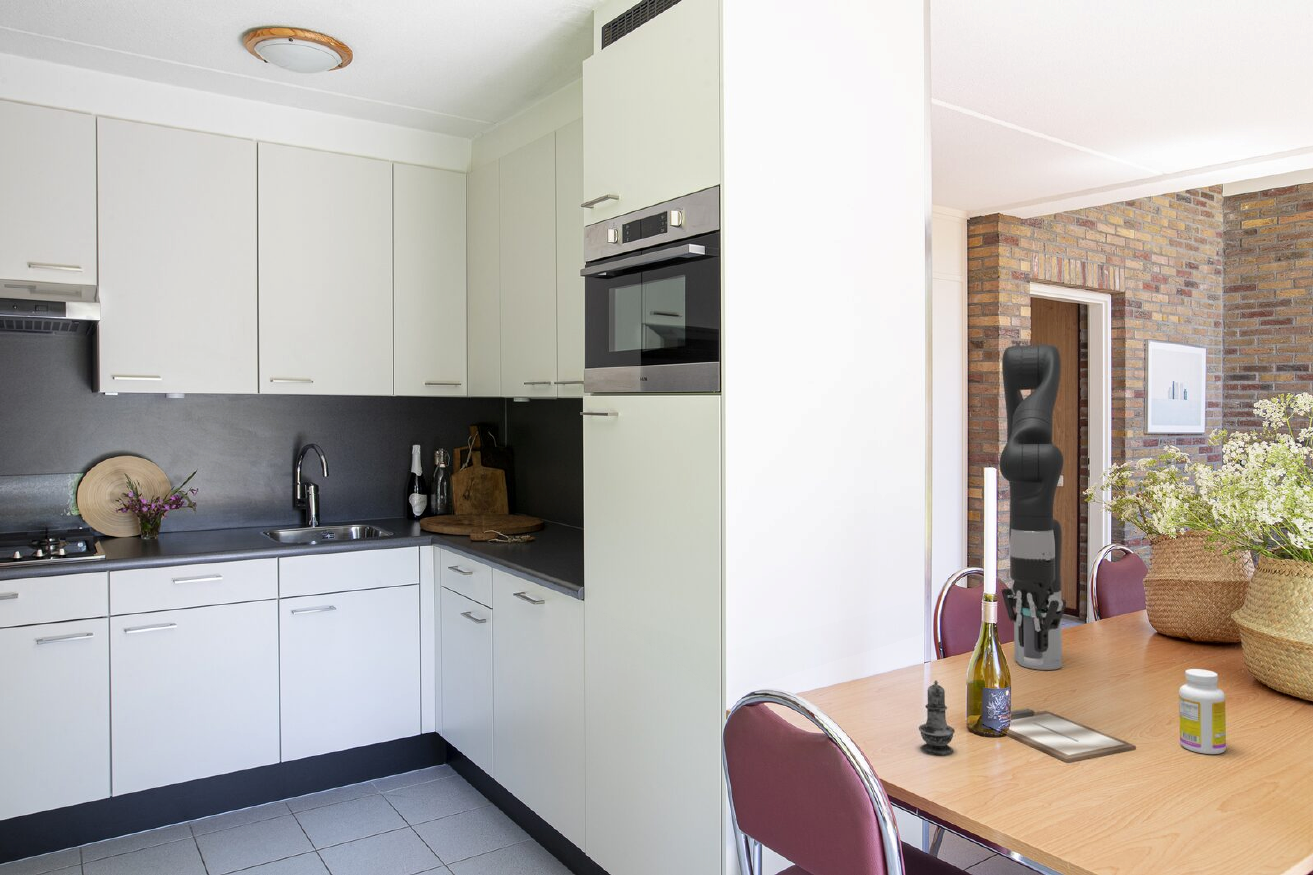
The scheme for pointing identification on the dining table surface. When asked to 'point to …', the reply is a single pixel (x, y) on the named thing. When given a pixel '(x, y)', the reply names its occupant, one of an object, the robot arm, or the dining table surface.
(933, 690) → the salt shaker
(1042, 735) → the clipboard
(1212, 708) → the supplement bottle
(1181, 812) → the dining table surface
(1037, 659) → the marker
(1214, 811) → the dining table surface
